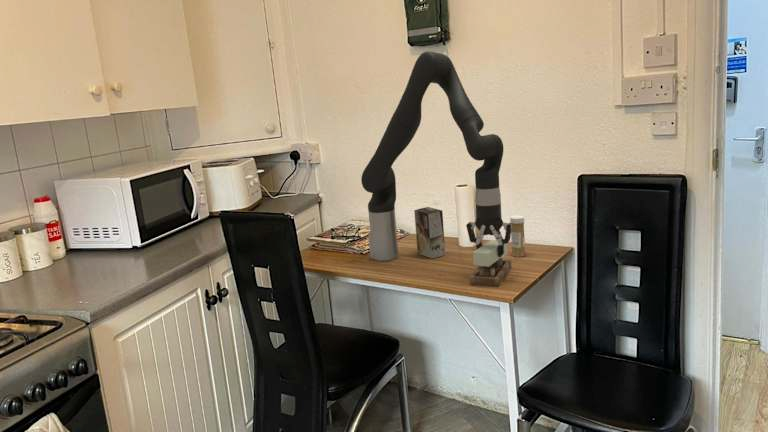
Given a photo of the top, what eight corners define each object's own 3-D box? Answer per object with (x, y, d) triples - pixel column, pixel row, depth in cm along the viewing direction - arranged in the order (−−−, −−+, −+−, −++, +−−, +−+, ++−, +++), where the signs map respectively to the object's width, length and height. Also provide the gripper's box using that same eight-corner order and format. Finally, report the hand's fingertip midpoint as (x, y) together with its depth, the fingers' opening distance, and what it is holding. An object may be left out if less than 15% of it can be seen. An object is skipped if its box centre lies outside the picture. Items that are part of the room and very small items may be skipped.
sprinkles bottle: (528, 255, 208) (527, 216, 205) (518, 258, 206) (517, 218, 203) (518, 252, 212) (517, 214, 209) (508, 255, 210) (507, 216, 207)
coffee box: (446, 255, 216) (443, 210, 212) (431, 259, 213) (428, 213, 209) (431, 249, 224) (428, 206, 220) (416, 253, 221) (413, 209, 217)
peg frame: (498, 286, 181) (498, 273, 180) (470, 284, 185) (469, 272, 184) (511, 267, 197) (510, 255, 196) (484, 266, 201) (484, 254, 200)
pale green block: (492, 251, 197) (492, 239, 196) (507, 253, 194) (507, 240, 193) (473, 264, 186) (472, 252, 185) (488, 266, 183) (488, 253, 182)
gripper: (514, 199, 186) (516, 253, 190) (468, 199, 192) (470, 251, 196) (509, 205, 180) (511, 260, 183) (461, 204, 185) (464, 258, 189)
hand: (490, 255), depth 190 cm, fingers closed on pale green block, 5 cm apart
